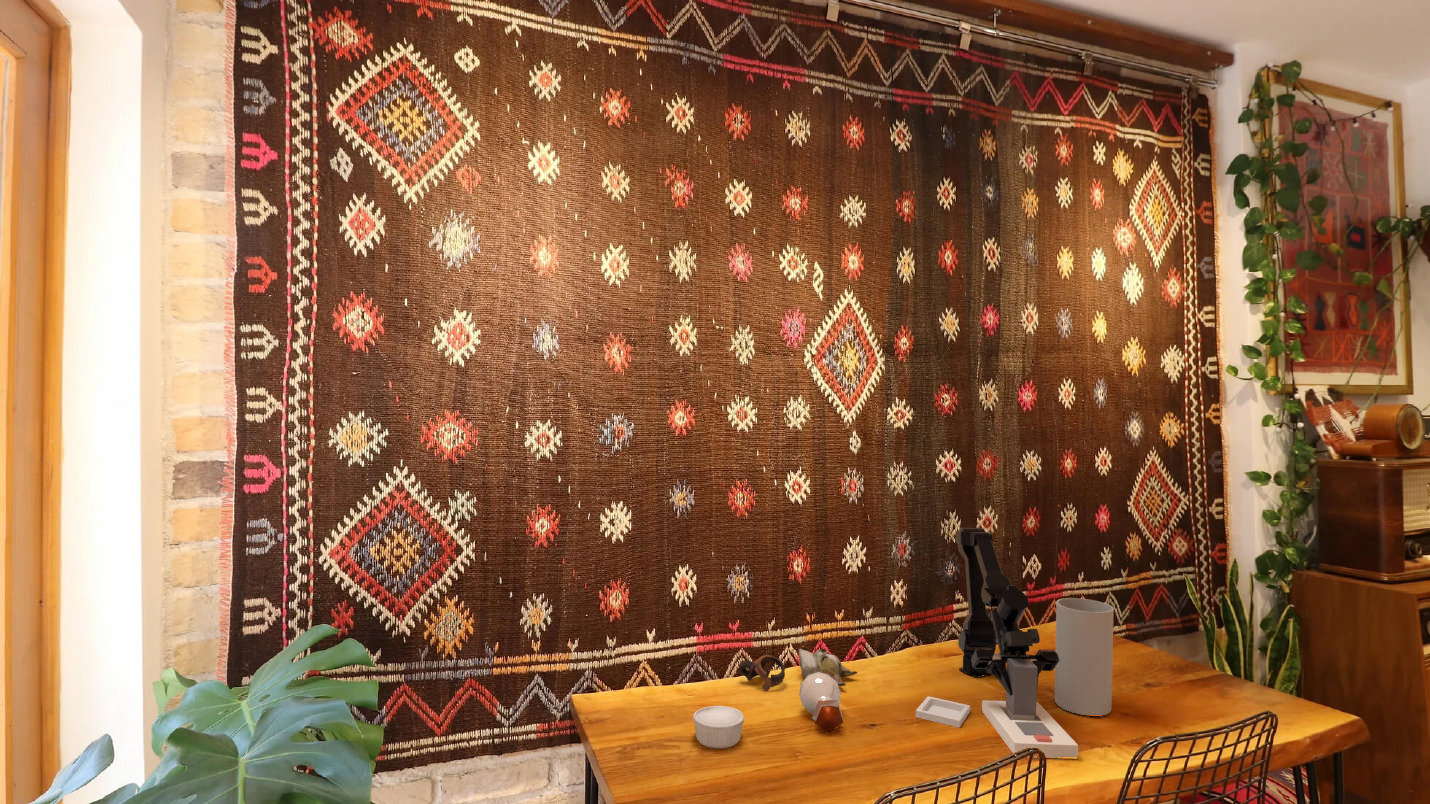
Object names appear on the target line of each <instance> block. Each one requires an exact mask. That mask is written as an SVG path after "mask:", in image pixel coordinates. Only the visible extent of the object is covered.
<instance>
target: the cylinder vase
mask: <svg viewBox="0 0 1430 804" xmlns="http://www.w3.org/2000/svg"><path fill="white" fill-rule="evenodd" d="M1055 604H1056V606H1055V607H1056V609H1055V613H1056V615H1055V650H1054V651H1055V652H1056V653H1057V654H1058V657H1059V660H1060V661H1059V662H1058V664H1057V665H1056V667H1055V668H1054V702H1055V704H1056V706H1058V707H1059V708H1060V707H1061V708H1060V709H1063V711H1066V710H1067V711H1066V712H1068V711H1069V712H1068V713H1071V712H1072V713H1071V714H1074V713H1077V714H1081V715H1080V716H1082V715H1105V716H1107V715H1109V714H1110V713H1111V711H1112V708H1113V707H1112V703H1113V702H1112V701H1113V698H1112V697H1113V696H1112V695H1113V662H1114V661H1113V656H1114V653H1113V650H1114V649H1113V648H1114V647H1113V645H1114V614H1115V613H1114V612H1115V611H1114V607H1113V605H1110V604H1108V603H1105V602H1101V601H1098V600H1094V599H1087V598H1077V597H1075V598H1074V597H1066V598H1060V599H1058V600H1056V603H1055ZM1108 713H1109V714H1108ZM1077 714H1076V715H1077ZM1106 714H1107V715H1106Z"/></svg>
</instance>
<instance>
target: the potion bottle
mask: <svg viewBox="0 0 1430 804" xmlns="http://www.w3.org/2000/svg"><path fill="white" fill-rule="evenodd" d="M798 696H799V698H800V701H801V704H802V707H803V708H804V709H806V711H807V712H808V713H809V714H811V715H812V717H811V719H812V720H814V721H815V722H814V723H815V725H817V726H818V727H820V728H821V729H823V730H824V731H825V732H827V733H830V732H832V731H833V730H835V729H837V728H838V727H839V726H840V725H843V723H844V719H843V718H844V716H843V714H842V710H841V705H840V703H841V690H840V686H838V683H837V682H836V681H835V680H834V679H833V678H832V677H830V676H829V675H827V674H824V673H821V672H817V673H813V674H810V675H808V676H807V677H806V678H804V680H803V681H802V682H801V683H800V687H799V694H798Z"/></svg>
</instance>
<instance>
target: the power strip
mask: <svg viewBox="0 0 1430 804" xmlns="http://www.w3.org/2000/svg"><path fill="white" fill-rule="evenodd" d="M981 704H982V705H981V707H982V710H981V711H982V713H983V714H984V716H985V717H986V718H987V719H988V721H989V723H990V724H991V725H992V726H993V728H994V730H995V731H996V732H997V734H998V735H999V736H1000V738H1001V739H1002V740H1003V741H1004V742H1005V744H1006V745H1007V747H1008V748H1009V750H1010V752H1011V753H1012V754H1013V753H1015V752H1018V751H1021V750H1023V749H1026V748H1039V749H1040V750H1041V751H1043V752H1044V753H1045V756H1046V757H1047V758H1058V757H1061V758H1062V757H1078V758H1079V745H1078V743H1076V741H1075V740H1074V739H1073V738H1072V737H1071V736H1070V735H1069V734H1068V732H1066V730H1064V728H1063V727H1062V726H1061V725H1060V724H1059V723H1058V722H1057V721H1056V720H1055V719H1054V717H1052V715H1051V714H1050V713H1048V712H1047V710H1046V709H1045V708H1044V707H1043V706H1042V705H1041V703H1039V702H1038V701H1036V716H1035V720H1034V721H1028V720H1011V719H1010V718H1009V717H1008V715H1007V706H1006V700H984V699H983V700H981ZM1033 759H1038V758H1037V756H1034V758H1033Z"/></svg>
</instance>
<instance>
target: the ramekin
mask: <svg viewBox="0 0 1430 804" xmlns="http://www.w3.org/2000/svg"><path fill="white" fill-rule="evenodd" d="M692 718H693V719H692V721H693V724H694V730H695V731H694V732H695V737H696V739H697V741H698V742H699V743H700V744H701V745H703V746H704V747H707V748H710V749H728V748H730V747H733V746H735V745H737V744H738V743H739V741H740V740H741V736H742V733H743V731H742V730H743V725H744V723H745V715H744V714H743V713H742V711H740V710H739V709H737V708H735V707H732V706H726V705H713V706H712V705H711V706H710V705H709V706H705V707H704V706H703V707H702V708H699V709H697V710H696V711H695V712H694V713H693V717H692Z"/></svg>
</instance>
